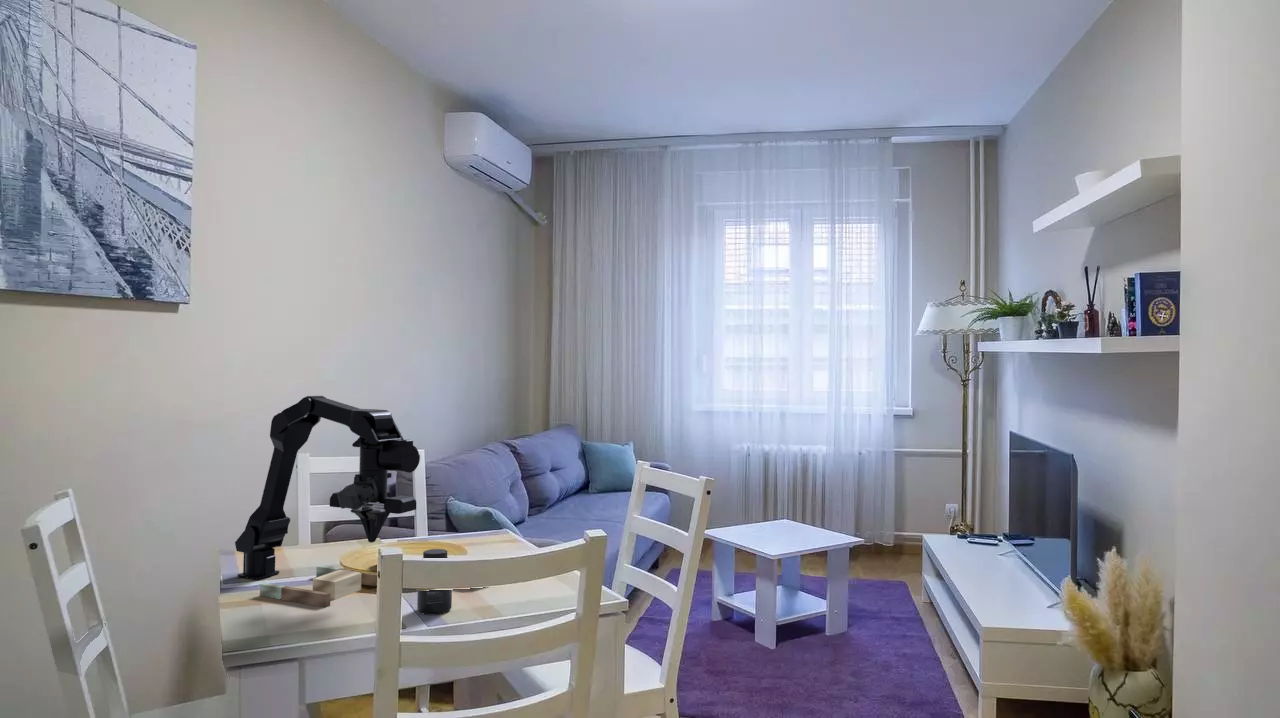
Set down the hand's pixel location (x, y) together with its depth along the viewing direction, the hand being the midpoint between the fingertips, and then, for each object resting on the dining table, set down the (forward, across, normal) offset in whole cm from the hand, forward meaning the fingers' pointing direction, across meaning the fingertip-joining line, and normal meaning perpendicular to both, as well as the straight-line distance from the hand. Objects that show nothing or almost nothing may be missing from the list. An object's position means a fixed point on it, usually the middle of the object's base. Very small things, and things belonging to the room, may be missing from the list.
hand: (371, 542), depth 163 cm
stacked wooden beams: (+12, -13, 0) cm, 18 cm away
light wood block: (+12, -9, 0) cm, 15 cm away
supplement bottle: (+12, +17, -1) cm, 21 cm away
